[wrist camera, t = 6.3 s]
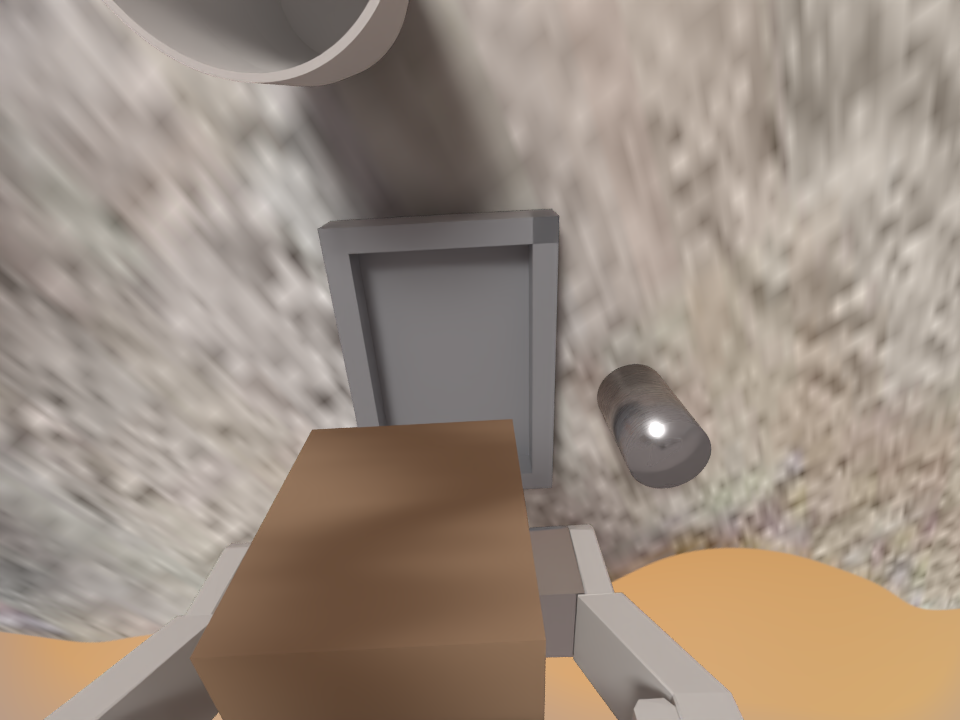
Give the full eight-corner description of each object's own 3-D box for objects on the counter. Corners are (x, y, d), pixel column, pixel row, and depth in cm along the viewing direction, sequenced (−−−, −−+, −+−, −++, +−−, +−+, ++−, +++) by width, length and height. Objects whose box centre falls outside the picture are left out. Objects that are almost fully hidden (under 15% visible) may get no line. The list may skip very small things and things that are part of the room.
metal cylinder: (667, 362, 27) (718, 419, 21) (659, 419, 28) (703, 486, 23) (599, 365, 27) (632, 424, 21) (595, 423, 28) (624, 490, 23)
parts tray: (551, 208, 23) (559, 215, 21) (546, 464, 30) (552, 487, 28) (330, 220, 23) (317, 229, 21) (378, 473, 30) (372, 497, 28)
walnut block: (512, 418, 10) (545, 639, 6) (515, 559, 12) (542, 806, 8) (312, 429, 10) (189, 659, 6) (347, 569, 12) (277, 819, 8)
